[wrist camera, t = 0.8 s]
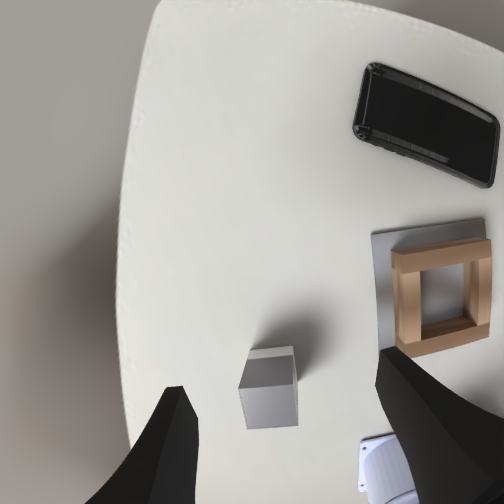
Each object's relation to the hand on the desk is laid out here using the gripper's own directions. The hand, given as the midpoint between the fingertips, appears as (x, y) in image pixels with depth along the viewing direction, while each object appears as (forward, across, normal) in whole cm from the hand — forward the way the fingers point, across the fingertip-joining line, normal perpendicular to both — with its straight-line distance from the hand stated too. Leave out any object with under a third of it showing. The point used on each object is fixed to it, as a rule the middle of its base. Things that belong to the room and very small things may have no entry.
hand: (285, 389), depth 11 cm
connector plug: (+14, 0, +13) cm, 19 cm away
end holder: (+14, -16, +8) cm, 22 cm away
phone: (+18, -18, -6) cm, 27 cm away
